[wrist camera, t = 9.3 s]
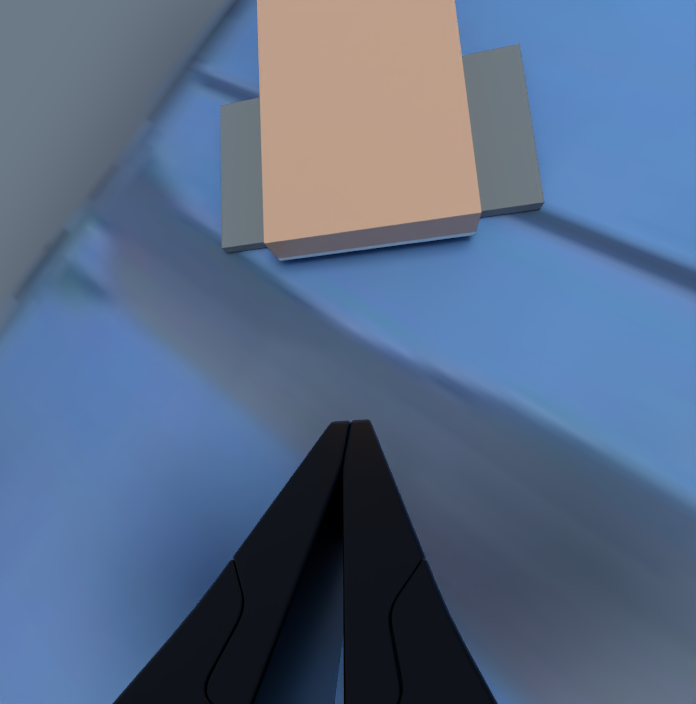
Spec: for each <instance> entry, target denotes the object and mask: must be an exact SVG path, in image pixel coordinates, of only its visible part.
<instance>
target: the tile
mask: <svg viewBox="0 0 696 704" xmlns="http://www.w3.org/2000/svg"><path fill="white" fill-rule="evenodd" d="M257 14H258V49H259V84H260V119H261V154H262V190H263V225H264V244H265V245H266V246H267V247H268V248H269V249H270V251H271V252H272V253H273V254H274V255H275V256H276V257H277V258H278V259H279V260H280V261H283V260H291V259H298V258H306V257H313V256H321V255H328V254H336V253H343V252H351V251H358V250H366V249H373V248H380V247H388V246H395V245H403V244H410V243H418V242H425V241H433V240H440V239H448V238H455V237H463V236H470V235H475V233H476V229H477V226H478V223H479V219H480V216H481V213H482V212H481V204H480V196H479V188H478V180H477V172H476V164H475V156H474V149H473V141H472V133H471V125H470V117H469V109H468V101H467V94H466V86H465V78H464V70H463V62H462V54H461V46H460V38H459V31H458V23H457V15H456V7H455V0H257Z"/></svg>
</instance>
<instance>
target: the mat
mask: <svg viewBox="0 0 696 704" xmlns="http://www.w3.org/2000/svg"><path fill="white" fill-rule="evenodd" d="M462 62H463V70H464V78H465V86H466V94H467V101H468V109H469V117H470V125H471V133H472V141H473V149H474V156H475V164H476V172H477V180H478V188H479V196H480V204H481V212H482V213H481V216H480V217H487V216H495V215H502V214H509V213H516V212H523V211H530V210H537V209H540V208H541V207H542V205H543V203H544V198H543V192H542V185H541V179H540V172H539V166H538V159H537V153H536V146H535V140H534V134H533V127H532V121H531V114H530V108H529V101H528V95H527V88H526V82H525V76H524V69H523V63H522V56H521V50H520V44H517V45H512V46H507V47H502V48H497V49H493V50H488V51H483V52H478V53H473V54H468V55H464V56H462ZM221 214H222V249H224V250H225V251H226V252H227V253H230V252H237V251H244V250H252V249H259V248H266V247H267V246H266V245H265V244H264V225H263V190H262V154H261V119H260V98H255V99H250V100H246V101H241V102H236V103H231V104H226V105H221Z"/></svg>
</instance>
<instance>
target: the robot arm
mask: <svg viewBox="0 0 696 704" xmlns="http://www.w3.org/2000/svg"><path fill="white" fill-rule="evenodd" d="M233 558H234V560H230V562H229V563H228V564H227V566H226V567H225V568H224V570H223V571H222V573H221V574H220V575H219V577H218V578H217V579H216V581H215V582H214V583H213V585H212V586H211V587H210V589H209V590H208V591H207V592H206V594H205V595H204V596H203V598H202V599H201V600H200V602H199V603H198V604H197V606H196V607H195V608H194V609H193V610H192V612H191V613H190V614H189V615H188V616H187V618H186V619H185V620H184V621H183V622H182V624H181V625H180V626H179V627H178V628H177V630H176V631H175V632H174V633H173V634H172V636H171V637H170V638H169V639H168V640H167V642H166V643H165V644H164V645H163V646H162V647H161V648H160V650H159V651H158V652H157V653H156V654H155V655H154V657H153V658H152V659H151V660H150V661H149V662H148V663H147V665H146V666H145V667H144V668H143V669H142V670H141V672H140V673H139V674H138V675H137V676H136V677H135V678H134V680H133V681H132V682H131V683H130V684H129V685H128V687H127V688H126V689H125V690H124V691H123V692H122V693H121V695H120V696H119V697H118V698H117V699H116V700H115V702H114V703H113V704H334V703H335V695H336V687H337V679H338V671H339V663H340V655H341V648H342V640H343V637H344V704H498V703H497V702H496V700H495V698H494V696H493V694H492V692H491V691H490V689H489V687H488V685H487V683H486V682H485V680H484V678H483V676H482V674H481V672H480V671H479V669H478V667H477V665H476V663H475V661H474V660H473V658H472V656H471V654H470V652H469V650H468V649H467V647H466V645H465V643H464V641H463V639H462V637H461V635H460V633H459V631H458V629H457V627H456V625H455V623H454V621H453V619H452V617H451V615H450V613H449V611H448V609H447V607H446V604H445V602H444V600H443V598H442V595H441V593H440V591H439V589H438V586H437V584H436V582H435V579H434V577H433V574H432V572H431V569H430V567H429V564H428V562H427V560H425V555H424V552H423V550H422V547H421V545H420V542H419V540H418V537H417V535H416V532H415V530H414V528H413V525H412V523H411V520H410V518H409V515H408V513H407V510H406V508H405V505H404V503H403V500H402V498H401V495H400V493H399V490H398V488H397V485H396V483H395V480H394V478H393V475H392V473H391V470H390V468H389V465H388V463H387V460H386V458H385V455H384V453H383V451H382V448H381V446H380V443H379V441H378V438H377V436H376V433H375V431H374V428H373V426H372V423H371V421H370V420H354V421H352V422H349V421H335V422H332V423H331V424H330V425H329V426H328V427H327V429H326V430H325V431H324V433H323V434H322V436H321V437H320V438H319V440H318V441H317V442H316V444H315V445H314V447H313V448H312V449H311V451H310V452H309V453H308V455H307V456H306V458H305V459H304V460H303V462H302V463H301V464H300V466H299V467H298V469H297V470H296V471H295V473H294V474H293V475H292V477H291V478H290V480H289V481H288V482H287V484H286V485H285V486H284V488H283V489H282V491H281V492H280V493H279V495H278V496H277V497H276V499H275V500H274V501H273V503H272V504H271V506H270V507H269V508H268V510H267V511H266V512H265V514H264V515H263V517H262V518H261V519H260V521H259V522H258V523H257V525H256V526H255V528H254V529H253V530H252V532H251V533H250V534H249V536H248V537H247V539H246V540H245V541H244V543H243V544H242V545H241V547H240V548H239V550H238V551H237V552H236V554H235V555H234V557H233Z"/></svg>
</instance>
